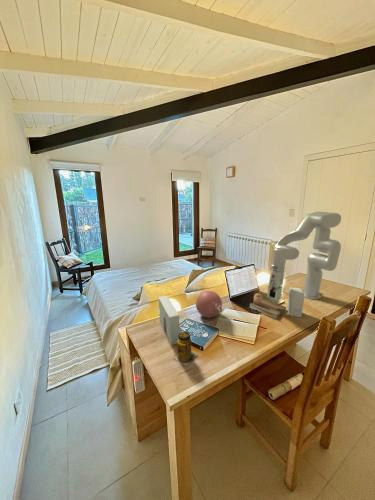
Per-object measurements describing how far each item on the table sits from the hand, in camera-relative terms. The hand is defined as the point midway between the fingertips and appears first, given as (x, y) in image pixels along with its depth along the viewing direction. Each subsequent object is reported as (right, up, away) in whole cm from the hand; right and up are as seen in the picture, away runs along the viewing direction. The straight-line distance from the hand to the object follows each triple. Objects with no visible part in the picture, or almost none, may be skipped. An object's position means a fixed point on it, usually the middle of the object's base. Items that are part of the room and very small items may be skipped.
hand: (273, 295), depth 131 cm
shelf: (-2, -9, +4) cm, 10 cm away
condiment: (-54, -20, -36) cm, 68 cm away
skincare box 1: (-64, -15, -19) cm, 68 cm away
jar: (-9, -7, +5) cm, 12 cm away
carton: (0, -2, +1) cm, 2 cm away
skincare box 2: (+12, -11, -1) cm, 16 cm away
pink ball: (-40, -12, -6) cm, 42 cm away
